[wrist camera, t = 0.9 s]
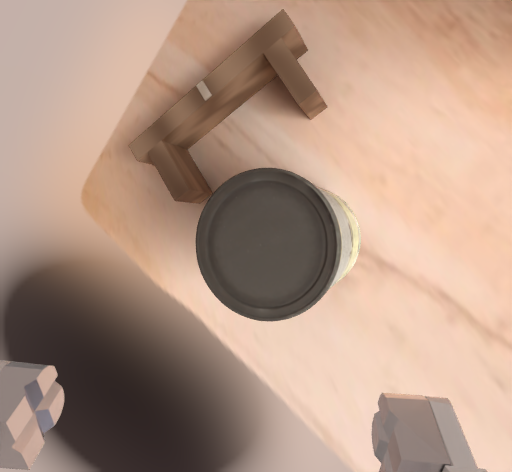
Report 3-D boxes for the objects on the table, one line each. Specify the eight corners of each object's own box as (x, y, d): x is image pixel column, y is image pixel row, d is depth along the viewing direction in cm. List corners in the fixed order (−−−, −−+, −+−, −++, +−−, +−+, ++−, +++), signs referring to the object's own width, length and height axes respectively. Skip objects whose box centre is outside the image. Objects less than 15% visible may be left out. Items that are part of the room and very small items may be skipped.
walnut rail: (297, 35, 39) (282, 7, 34) (340, 97, 38) (331, 77, 33) (156, 153, 45) (127, 144, 40) (189, 211, 44) (162, 209, 39)
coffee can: (305, 310, 39) (256, 352, 26) (243, 234, 42) (169, 237, 28) (385, 244, 36) (376, 253, 23) (314, 166, 39) (268, 134, 26)
